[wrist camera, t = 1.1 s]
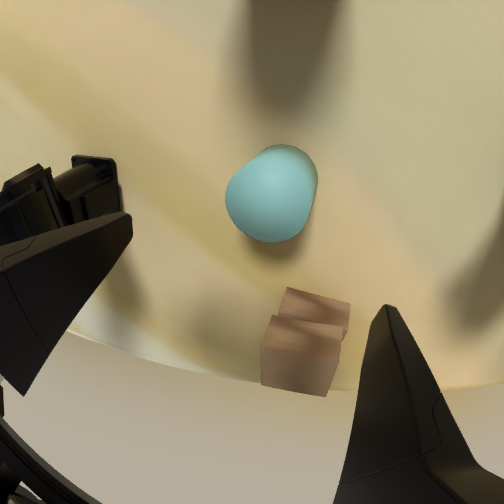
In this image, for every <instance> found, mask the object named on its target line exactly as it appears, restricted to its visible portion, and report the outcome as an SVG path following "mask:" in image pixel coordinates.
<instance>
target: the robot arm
mask: <svg viewBox="0 0 504 504" xmlns="http://www.w3.org/2000/svg"><path fill="white" fill-rule="evenodd" d="M71 162H72V169H70V170H68V171H66V172H64V173H62V174H61V175H59V176H57V177H55V178H53V177H52V174H51V172H52V171H51V168H50V167H48V168H46V169H44V168H43V167H42V166H41V165H40V164H39V163H38V164H36V165H35V166H33V167H31V168H29V169H27V170H25V171H23V172H21V173H20V174H18V175H16V176H14V177H13V178H11V179H9V180H8V181H6V182H4V185H3V188H2V191H1V192H0V383H1V382H2V380H3V379H4V378H5V379H6V380H7V381H8V382H9V383H10V384H11V385H12V386H13V387H14V388H15V389H16V390H17V391H18V392H19V393H20V394H21V395H22V396H25V394H26V393H27V391H28V389H29V388H30V386H31V384H32V382H33V381H34V379H35V377H36V376H37V374H38V372H39V371H40V369H41V368H42V366H43V364H44V363H45V361H46V359H47V358H48V356H49V355H50V353H51V352H52V350H53V349H54V347H55V346H56V344H57V342H58V341H59V340H60V338H61V336H62V335H63V334H64V332H65V331H66V329H67V328H68V326H69V325H70V324H71V322H72V321H73V319H74V318H75V317H76V315H77V314H78V312H79V311H80V310H81V308H82V307H83V306H84V304H85V303H86V302H87V300H88V299H89V298H90V296H91V295H92V294H93V292H94V291H95V290H96V288H97V287H98V286H99V285H100V283H101V282H102V281H103V279H104V278H105V277H106V276H107V274H108V273H109V272H110V270H111V269H112V268H113V266H114V265H115V263H116V262H117V260H118V259H119V257H120V256H121V254H122V253H123V251H124V250H125V248H126V247H127V245H128V244H129V242H130V241H131V239H132V237H133V226H132V217H131V215H130V214H128V213H125V212H120V206H119V198H118V190H117V181H116V171H115V162H114V160H113V159H111V158H102V157H93V156H82V155H74V156H72V158H71ZM109 163H110V164H109ZM3 402H4V401H3V387H2V386H1V385H0V504H102V503H100V502H99V501H97V500H96V499H94V498H93V497H91V496H90V495H88V494H87V493H85V492H84V491H83V490H81V489H79V488H78V487H77V486H76V485H74V484H73V483H72V482H70V481H69V480H68V479H66V478H65V477H64V476H63V475H61V474H60V473H59V472H58V471H57V470H55V469H54V468H53V467H52V466H51V465H49V464H48V463H47V462H46V461H45V460H44V459H43V458H41V457H40V456H39V455H38V454H37V453H36V452H35V451H34V450H33V449H32V448H31V447H30V446H29V445H28V444H27V443H26V442H24V440H23V439H22V438H21V437H19V435H18V434H17V433H16V432H15V431H14V430H13V429H12V428H11V427H10V426H9V425H8V423H6V421H5V420H4V419H3V416H4V403H3ZM21 481H22V482H23V483H24V484H25V485H26V486H28V487H29V488H30V489H31V490H32V491H33V492H34V493H35V494H36V495H37V496H38V497H40V498H41V499H42V500H38V499H37V498H36V497H35V496H34V495H33V494H32V493H31V492H30V491H28V490H27V489H25V488H24V487H22V486H21V485H19V483H20V482H21ZM333 504H504V479H502V478H500V477H499V476H496V475H495V474H493V473H491V472H489V471H487V470H485V469H484V468H482V467H481V466H480V465H479V464H478V463H477V462H476V460H475V459H474V457H473V455H472V453H471V451H470V449H469V447H468V445H467V443H466V441H465V439H464V437H463V435H462V433H461V431H460V430H459V428H458V426H457V424H456V422H455V420H454V418H453V416H452V414H451V412H450V410H449V407H448V405H447V403H446V401H445V399H444V397H443V395H442V393H441V392H440V388H439V386H438V384H437V382H436V380H435V378H434V376H433V374H432V372H431V370H430V368H429V366H428V364H427V362H426V360H425V358H424V356H423V354H422V353H421V351H420V349H419V347H418V345H417V343H416V341H415V340H414V338H413V336H412V334H411V332H410V331H409V329H408V327H407V325H406V323H405V322H404V320H403V318H402V317H401V315H400V313H399V311H398V310H397V308H396V307H394V306H391V305H388V304H384V305H383V306H382V307H381V309H380V310H379V312H378V313H377V315H376V316H375V318H374V319H373V321H372V323H371V326H370V330H369V335H368V340H367V345H366V349H365V354H364V358H363V363H362V368H361V374H360V382H359V389H358V396H357V402H356V408H355V414H354V419H353V425H352V430H351V435H350V440H349V444H348V449H347V453H346V458H345V462H344V466H343V470H342V474H341V478H340V481H339V485H338V488H337V492H336V495H335V498H334V501H333Z"/></svg>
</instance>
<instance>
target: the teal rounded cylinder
mask: <svg viewBox="0 0 504 504" xmlns="http://www.w3.org/2000/svg"><path fill="white" fill-rule="evenodd" d="M317 184H318V174H317V170H316V167H315V165H314V163H313V161H312V160H311V159H310V157H309V156H308V155H307V154H306V153H304V152H303V151H302V150H300V149H298V148H296V147H293V146H290V145H274V146H270V147H268V148H266V149H264V150H263V151H261V152H260V153H259V154H258V155H257V156H255V157H254V158H253V159H252V160H251V161H250V162H248V163H247V164H246V165H245V166H244V167H243V168H242V169H240V170H239V171H238V172H237V173H236V174H235V175H234V176H233V177H232V179H231V180H230V182H229V184H228V186H227V189H226V195H225V202H226V208H227V211H228V214H229V216H230V218H231V219H232V221H233V222H234V224H235V225H236V226H237V227H238V228H239V229H240V230H241V231H242V232H243V233H245V234H246V235H248V236H249V237H251V238H254V239H256V240H259V241H263V242H270V243H275V242H282V241H286V240H288V239H290V238H292V237H294V236H295V235H297V234H298V233H299V232H300V231H301V230H302V229H303V227H304V226H305V224H306V222H307V219H308V216H309V212H310V209H311V206H312V202H313V199H314V195H315V192H316V188H317Z"/></svg>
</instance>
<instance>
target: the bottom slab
mask: <svg viewBox="0 0 504 504" xmlns="http://www.w3.org/2000/svg"><path fill="white" fill-rule="evenodd" d="M349 312H350V304H349V303H345V302H341V301H338V300H334V299H330V298H326V297H322V296H319V295H315V294H311V293H307V292H304V291H300V290H296V289H293V288H289V287H287V289H286V292H285V295H284V298H283V301H282V304H281V307H280V310H279V314H278V316H279V317H285V318H290V319H296V320H302V321H308V322H314V323H321V324H327V325H334V326H340V327H343V331H342V340H341V342H342V341H343V339H344V337H345V335H346V333H347V331H348V325H349Z"/></svg>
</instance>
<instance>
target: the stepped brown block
mask: <svg viewBox="0 0 504 504" xmlns="http://www.w3.org/2000/svg"><path fill="white" fill-rule="evenodd" d="M342 331H343V327H340V326H334V325H327V324H321V323H314V322H308V321H302V320H296V319H290V318H285V317H279V316H274V315H272V317H271V320H270V323H269V326H268V328H267V331H266V334H265V337H264V339H263V342H262V345H261V385H264V386H269V387H273V388H278V389H283V390H288V391H293V392H299V393H304V394H310V395H316V396H323V397H326V395H327V392H328V390H329V387H330V384H331V382H332V379H333V376H334V374H335V371H336V368H337V365H338V362H339V357H340V349H341V340H342Z"/></svg>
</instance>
